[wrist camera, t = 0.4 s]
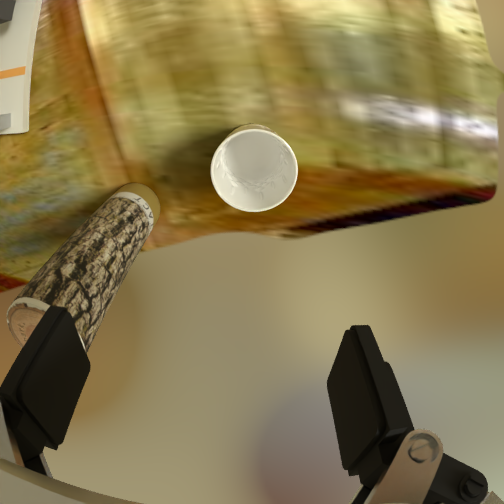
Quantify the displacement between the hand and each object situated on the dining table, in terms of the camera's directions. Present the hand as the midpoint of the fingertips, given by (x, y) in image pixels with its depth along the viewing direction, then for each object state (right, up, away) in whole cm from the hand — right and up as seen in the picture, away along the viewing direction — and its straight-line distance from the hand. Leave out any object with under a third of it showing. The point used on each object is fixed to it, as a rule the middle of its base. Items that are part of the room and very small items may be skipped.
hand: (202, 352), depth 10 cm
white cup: (+2, +15, +27) cm, 31 cm away
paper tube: (-14, +10, +30) cm, 34 cm away
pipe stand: (-33, +31, +17) cm, 48 cm away
